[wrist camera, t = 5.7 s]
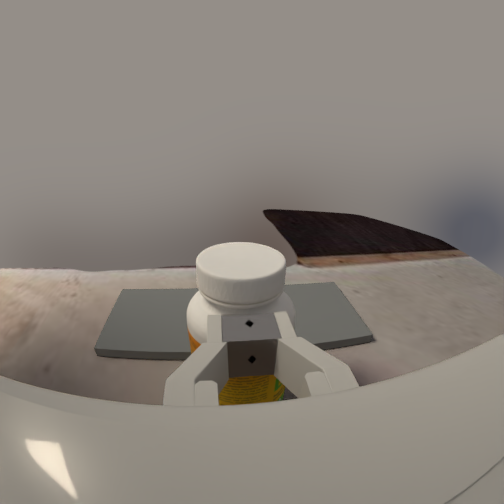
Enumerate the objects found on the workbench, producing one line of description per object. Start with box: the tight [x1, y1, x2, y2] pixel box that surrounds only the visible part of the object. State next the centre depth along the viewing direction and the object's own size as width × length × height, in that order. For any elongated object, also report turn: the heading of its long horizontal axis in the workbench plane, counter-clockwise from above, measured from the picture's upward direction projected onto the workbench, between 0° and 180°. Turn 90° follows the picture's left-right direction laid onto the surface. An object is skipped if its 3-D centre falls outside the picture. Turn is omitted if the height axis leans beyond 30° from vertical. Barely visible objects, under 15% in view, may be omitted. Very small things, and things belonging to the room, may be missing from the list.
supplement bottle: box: [187, 242, 296, 406], centre depth 14 cm, size 5×5×10 cm
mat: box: [94, 282, 372, 360], centre depth 23 cm, size 22×9×1 cm, turn 97°
